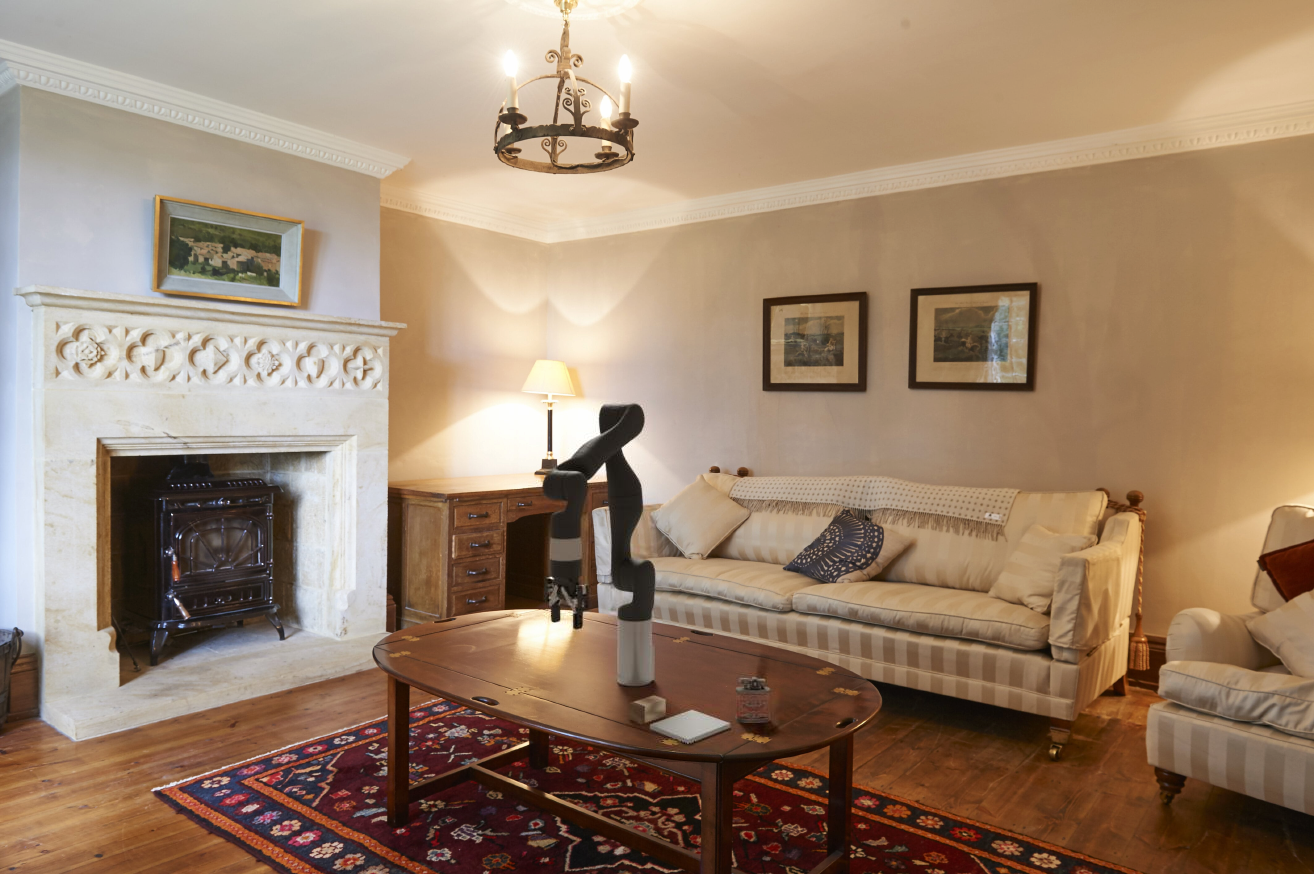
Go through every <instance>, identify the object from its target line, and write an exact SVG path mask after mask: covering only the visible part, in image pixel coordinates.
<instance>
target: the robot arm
mask: <svg viewBox="0 0 1314 874" xmlns="http://www.w3.org/2000/svg"><path fill="white" fill-rule="evenodd" d="M645 420H646V418H645V412H644V410H643V408H642V406H641V405H640V404H638V403H635V402H607V403H606V402H605V403H604V404H603V405H602V406H601V407H600V409H599V414H598V429H599V435H597V436H595V437H593V438H591V439H589V440H587V441H586V442H585V443H584V444H582V445H581V446H580V447H579V448H578V449H577V450H576V451H575V452H574V453H573V455H572V456H571V457H570V458H568V459H567V460H564V461H563V462H561V463H559V464H558V465H556V466H555V467H553V468H552V469H551V470H549V471H548V472H547V473H546V475H545V476H544V479H543V481H542V492H543V495H544V496H545V497H546V498H547V499H548V500H551V501H555V502H567V503H566V506H565V508H564V510H559V511H556V512H553V513H552V514H551V516H550V542H549V577H546V578H544V602H545V603H548V605H549V606H550V621H551V622H552V623H555V624H556V623H559V622H561V605H560V604H561V603H562V601H564V602H566V603H567V605H568V606H569V607H571V610H572V612H573V613H572V629H573V630H576V631H577V630H580V629H581V630H582V628H583V625H584V622H583V621H584V612H587V611H590V594H589V592H590V591H589V585H588V584H580V580H579V579H580V577H582V576H583V544H582V537H581V535H582V531H581V530H582V529H581V525H582V523H581V521H582V515H583V511H584V508H585V507H584V506H585V503H586V500H587V495H588V493H589V492H588V491H589V482H588V481H590V480H592V478H593V477H594V476H595V475H596V474H597V472H598V471H599V470H600V469H601V468H602V466H604V464H605V475H606V485H607V486H606V487H607V488H606V489H607V491H606V492H607V502H608V512H609V520H610V521H609V522H610V523H609V525H610V539H611V541H610V542H611V543H610V545H611V547H610V550H611V551H610V555H611V556H610V577H611V582H612V585H613V587H614V588H615V589H616V590H618V591H620V592H627V593H632V599H631V602H629V603H625V604H621V605H619V607H618V608H617V649H616V650H617V654H616V655H617V656H616V657H617V665H616V666H617V668H616V669H617V671H616V672H617V673H616V674H617V680H616V681H617V683H618V684H619V685H621V686H628V687H641V686H646V685H648V684H651V682H652V681H654V680H655V644H654V643H653V641H652V639H653V637H652V635H653V631H652V630H653V619H652V617H653V610H654V605H655V593H656V592H655V591H656V567H655V565H654V563H653V562H652V561H651V560H649V559H646V558H638V557H632V553H631V552H632V551H631V550H632V549H631V548H632V547H631V543H632V542H631V541H632V536H633V534H634V532H635V529H636V527H637V526H638V524H639V522H640V519H641V517H642V515H643V511H644V500H643V499H644V498H643V488H642V484H641V481H640V479H639V477H638V476H637V474H636V473H635V471H634V470H633V468H632V467H631V465H630V464H629V462H628V460H627V458H626V457H625V454H624V452H623V447H625V446H626V445H628V444H629V443H630V442H631V441H633V440H634V439H636V438H637V437H638V436H639V435H640V434H641V433H642V431H643V429H644V427H645ZM583 602H584V604H583Z"/></svg>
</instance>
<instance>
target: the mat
mask: <svg viewBox="0 0 1314 874" xmlns="http://www.w3.org/2000/svg"><path fill="white" fill-rule="evenodd" d="M649 729H650V730H651V731H653V732H657V733H659V734H661V735H664V736H667V737H669V738H671V737H672V738H671V739H674V740H676V739H677V740H676V741H679V742H681V741H682V742H681V743H684V742H685V743H684V744H686V743H687V745H689V743H690V744H692V743H694V741H695V742H697V741H700V740H702V739H704V738H707V737H710V736H712V735H713V736H714V735H715V734H717V733H720V732H723V731H725V730H728V729H731V723H730V722H727V721H725V720H722V719H720V718H719V719H718V718H717V717H715V716H714V717H713V716H711V715H708V714H705V713H702V712H699V711H697V710H694V709H690V710H688V711H685V712H682V713H679V714H676V715H673V716H670V717H667V718H665V719H663V720H659V721H657V722H653V723H651V724H649Z"/></svg>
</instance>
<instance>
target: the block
mask: <svg viewBox="0 0 1314 874" xmlns="http://www.w3.org/2000/svg"><path fill="white" fill-rule="evenodd" d="M666 703H667V701H666V698H663V697H661V696H657V695H655V694H654V695H650V696H647V697H644V698H642V699H638V700H634V701H632V702H629V710H628V711H629V715H628V716H629V717H628V718H629V719H630V720H629V721H631V720H633V721H636V722H638V723H640V724H639V725H643V723H644V724H647V723H650V722H652V720H653V721H655V720H658V719H661V718H664V717H666V714H667V713H666V707H667V705H666ZM633 721H632V722H633ZM649 721H650V722H649ZM636 722H635V723H636ZM646 722H647V723H646ZM638 723H637V724H638Z"/></svg>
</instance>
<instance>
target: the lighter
mask: <svg viewBox="0 0 1314 874" xmlns="http://www.w3.org/2000/svg"><path fill="white" fill-rule="evenodd" d="M738 685H740V686H736V687H735V693H736V699H735V701H736V707H735V708H736V709H735V710H736V711H735V712H736V713H735V721H736V722H737V723H746V724H748V723H751V724H756V723H759V724H760V723H768V722H770V720H771V716H770V693H771V688H770V687H768V686H765V685H766V679H765V678H757V677H756V676H752V677H751V678H749V677H741V678H739V679H738ZM742 685H743V686H742Z"/></svg>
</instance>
